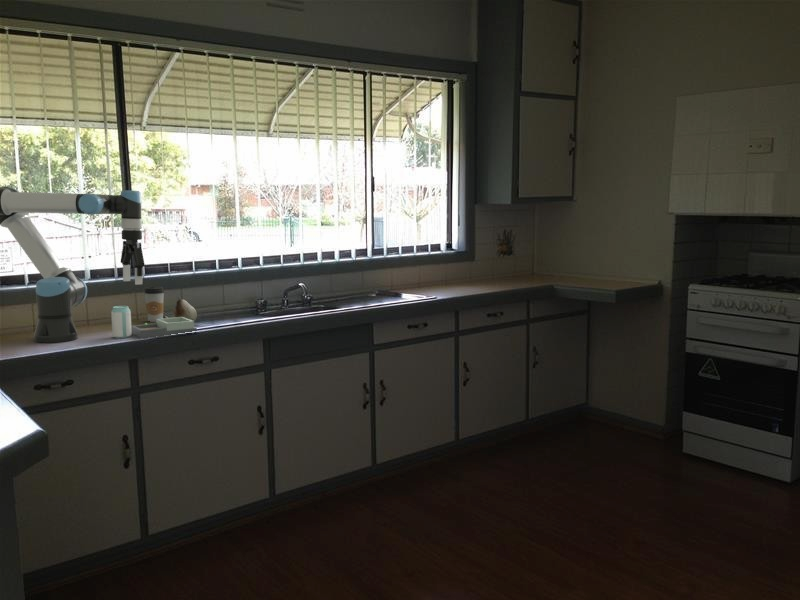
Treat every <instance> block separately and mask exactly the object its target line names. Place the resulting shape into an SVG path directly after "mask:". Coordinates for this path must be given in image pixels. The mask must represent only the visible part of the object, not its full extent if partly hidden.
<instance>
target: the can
mask: <svg viewBox="0 0 800 600" xmlns="http://www.w3.org/2000/svg"><path fill="white" fill-rule="evenodd" d="M131 313H132V311H131V309H130V308H129V306H128V305H116V306H112V310H111V311H110V315H111V317H110V318H111V336H112V337H113V338H115V339H126V338H130V337H131V336H132V335H133V334H132V331H131V326H132V314H131Z"/></svg>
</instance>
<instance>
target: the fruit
mask: <svg viewBox="0 0 800 600" xmlns="http://www.w3.org/2000/svg"><path fill="white" fill-rule="evenodd" d="M197 314H198V313H197V310H196V309H195V308H194V306H192V305H191V304H190V303H189V302H188V301H187V300H185V299H183V298H182V299H181V297H178V300H177V301H176V304H175V307H174V309H173V318H176V317H184V318H187V319H190V320H193V321H194V322H195V321H196V319H197V317H198V315H197Z"/></svg>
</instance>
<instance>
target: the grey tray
mask: <svg viewBox="0 0 800 600" xmlns="http://www.w3.org/2000/svg"><path fill="white" fill-rule="evenodd" d="M131 331H132V335H133V336H135V337H138V338H139V337H140V339H141V338H144V339H149V338H148V337H154V338H157V337H156V336H163V337H165V336H164V335H171V334H178V333H185V332H192V331H197V332H198V328H197V327H195V321H193V320H190V319H187V318H184V317H176V318H174V317H166V318H164V317H163V319H156V322H155V323H147V322H145V323H143V324H138V325H131Z"/></svg>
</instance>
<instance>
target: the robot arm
mask: <svg viewBox="0 0 800 600" xmlns="http://www.w3.org/2000/svg"><path fill="white" fill-rule="evenodd" d="M142 203H143V201H142V194H141V192H140V191H139V190H121V191H120V194H116V195H115V194H100V193H99V194H98V193H97V194H96V193H63V192H62V193H61V192H30V191H29V192H22V191H19V190H17V189H15V188H13V187H9V186H0V227H3V228H6V229H8V231H9V233H11V235H12V236H13V237H14V239H15V241H17V243H18V244H19V246H20V247H21V250H23V251H24V253H25V254H26V255H27V257H28V259H29V260H30V261H31V262H32V264H33V265H34V267H35V269H37V271H38V272H39V274H40V275H41V277H42V278H41V279H39V280H37V282H36V284H35V294H36V295H35V296H36V308H37V309H36V310H37V323H36V326H35V330H34V334H33V341H34V342H37V343H42V344H43V343H44V344H45V343H48V344H49V343H63V342H69V341H73V340H77V339H78V338H79V337H78V333H79V332H78V330H77V328H76V325H75V323H74V321H73V317H72V308H75V307H77V306H78V305H80V304H82V303H83V302H84V301H85V300H86V298H87V295H88V287H87V284H86V283H85V281H84V280H83V279H81V278H80V277H78V276H76V275H75V274H74V273H73V271H72V269H71V268H67V267H65V266H64V265H63V264H62V262H61V261H60V260H59V258H58V257H57V255H56V254H55V252H54V251H53V250H52V248H51V247H50V245H49V244H48V243H47V241H46V240H45V239H44V237H43V236H42V235H41V233H40V232H39V230H38V229H37V227H36V226H35V225H34V223H33V221H32V220H31V219H30V217H29V214H73V215H74V214H75V215H76V214H77V215H79V214H80V215H120V217H121V219H120V222H121V223H120V224H121V229H122V230H121V239H122V250H121V256H120V257H121V258H120V264H122V265H121V266H122V282H131V265H132V263H131V260H132V259H133V263H134V267H133V269H134V285H136V286H137V285H143V279H144V278H143V268H144V267H145V266H146V265H145V260H144V255H143V249H142V242H138V241H140V240H142V239H143V232H142V230H141V229H142V226H143V224H144V223H143V221H142Z"/></svg>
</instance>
